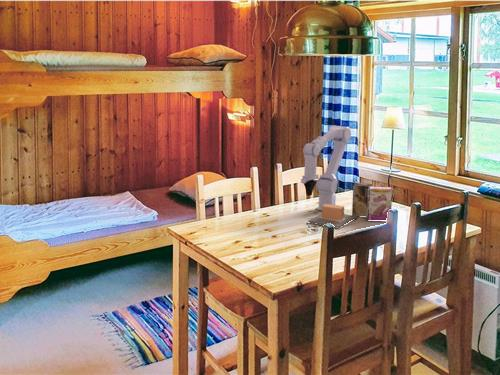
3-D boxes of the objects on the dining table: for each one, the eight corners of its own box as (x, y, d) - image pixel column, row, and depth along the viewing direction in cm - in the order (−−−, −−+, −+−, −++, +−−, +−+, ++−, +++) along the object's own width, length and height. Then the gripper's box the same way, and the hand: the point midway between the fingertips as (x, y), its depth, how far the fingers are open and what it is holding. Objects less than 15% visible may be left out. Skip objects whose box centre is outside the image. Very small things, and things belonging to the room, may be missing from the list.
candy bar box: (367, 221, 272) (369, 188, 269) (366, 218, 277) (368, 186, 273) (390, 222, 271) (393, 189, 267) (389, 219, 276) (391, 187, 272)
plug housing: (324, 215, 278) (325, 203, 276) (343, 218, 273) (344, 206, 272) (321, 218, 274) (322, 206, 272) (340, 220, 269) (341, 208, 268)
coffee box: (371, 214, 284) (373, 183, 280) (370, 218, 278) (371, 186, 274) (353, 213, 287) (354, 182, 283) (351, 216, 281) (352, 185, 277)
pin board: (327, 213, 286) (327, 204, 285) (356, 218, 277) (357, 209, 276) (308, 223, 270) (308, 213, 269) (338, 229, 261) (339, 219, 260)
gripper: (310, 164, 285) (309, 191, 288) (296, 169, 273) (294, 196, 276) (322, 166, 281) (321, 193, 284) (308, 171, 269) (307, 198, 272)
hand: (309, 195), depth 280 cm, fingers closed
